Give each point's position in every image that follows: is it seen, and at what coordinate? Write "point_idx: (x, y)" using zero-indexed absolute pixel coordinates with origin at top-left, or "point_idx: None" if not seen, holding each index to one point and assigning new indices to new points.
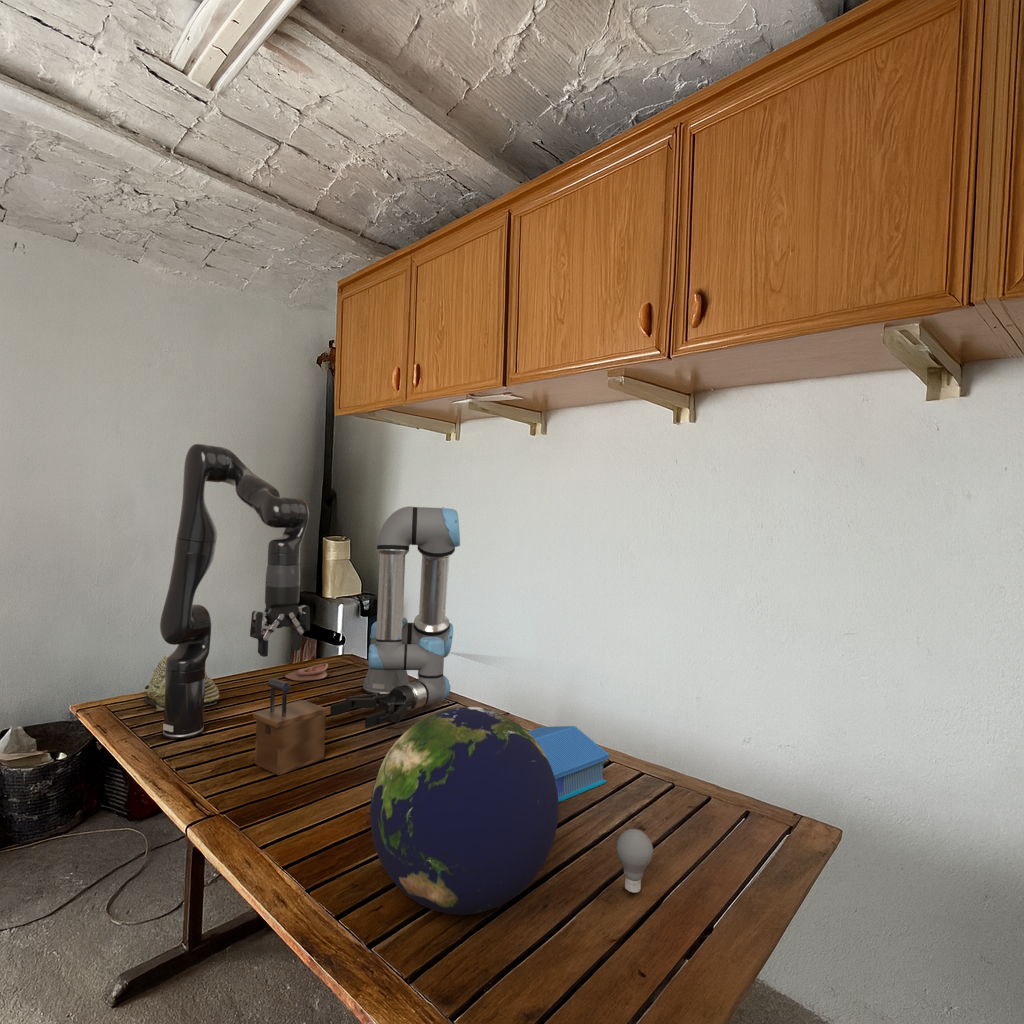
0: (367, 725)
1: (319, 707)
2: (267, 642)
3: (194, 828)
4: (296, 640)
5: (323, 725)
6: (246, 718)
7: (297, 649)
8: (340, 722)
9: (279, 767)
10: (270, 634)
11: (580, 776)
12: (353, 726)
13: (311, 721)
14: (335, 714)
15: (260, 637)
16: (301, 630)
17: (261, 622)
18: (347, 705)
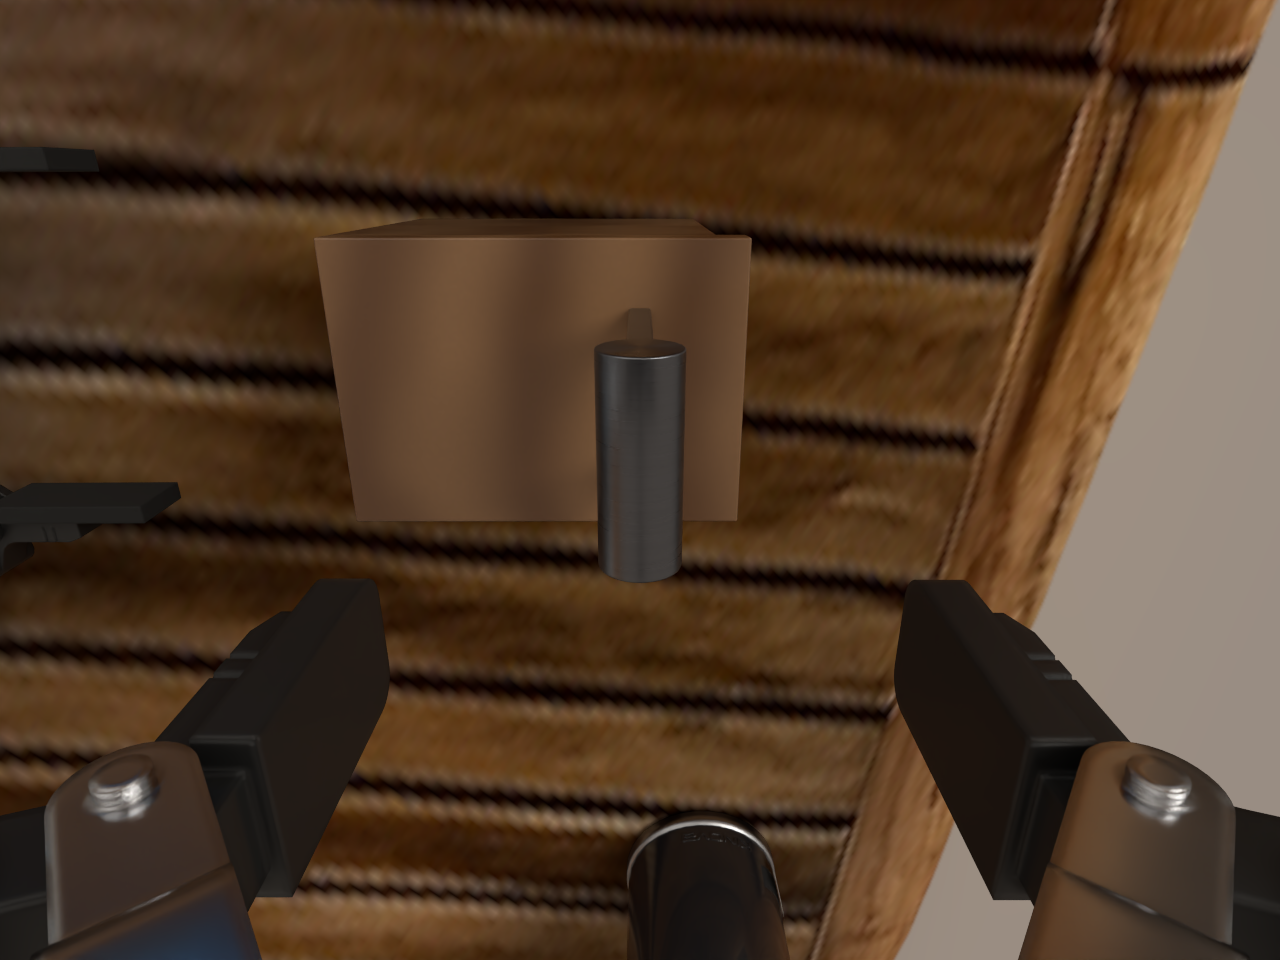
0: (77, 149)
1: (345, 289)
2: (1028, 713)
3: (1254, 20)
4: (313, 705)
5: (376, 229)
6: (439, 845)
7: (366, 581)
8: (112, 548)
9: (694, 220)
10: (1057, 838)
11: None
12: (79, 461)
13: (463, 232)
14: (151, 483)
15: (1250, 843)
16: (102, 816)
17: None
18: (37, 497)
